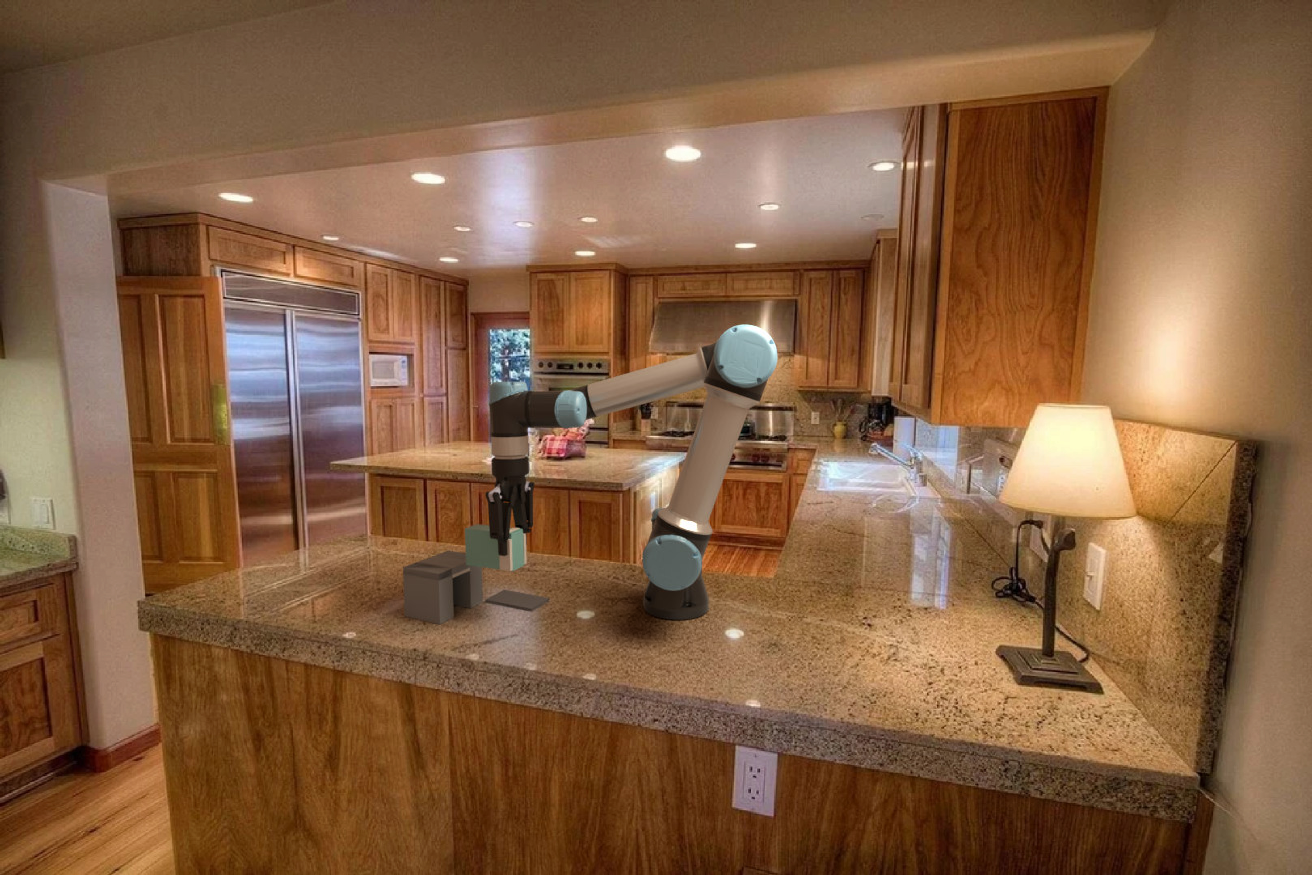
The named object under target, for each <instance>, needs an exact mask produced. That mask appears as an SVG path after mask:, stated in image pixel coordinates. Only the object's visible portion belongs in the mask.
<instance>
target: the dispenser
mask: <svg viewBox="0 0 1312 875" xmlns="http://www.w3.org/2000/svg"><path fill="white" fill-rule="evenodd" d="M402 574H403V575H402V576H403V577H402V578H403V580H402V581H403V605H404V606H403V607H404V608H403V609H404V613H403V614H404V617H405V618H411V619H416V620H420V621H424V622H427V623H432V624H436V625H441V624H443V623H446V622H447V621H450V620H451V619H453V618H454V606H459V607H463V608H464V607H465V608H467V609H472V608H474V607H476V606H478V605H480V604H482V603H484V601H483V600H484V598H483V597H484V596H483V590H484V589H483V567H477V566H470V565H466V552H459V551H453V550H446V551H443V552H441V553H438V554H435V555H432V556H429V557H427V558H425V559H421V560H419V561H416V562H414V563H411V564H409V565H405V566H403V567H402Z"/></svg>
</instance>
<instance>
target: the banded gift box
mask: <svg viewBox="0 0 1312 875" xmlns="http://www.w3.org/2000/svg"><path fill="white" fill-rule="evenodd" d="M503 534H504V533H503ZM509 539H512V562H513V570H512V571H511V572H514V571H516V570H519V569H521V568H522V567H524V566H525V564H524V549H523V529H520V528H515V526H514V527H510V532H509ZM464 542H465V543H464V544H465V545H464V546H465V553H466V565H470V566H477V567H482V568H485V569H491V570H492V569H493V570H500V561H499V554H498V540H497V539H491V538H490V530H489V524H480V523H479V524H477V523H476V524H474V525H471V526H468V527H464ZM500 571H501V570H500ZM504 571H505V572H507V571H506V570H504Z"/></svg>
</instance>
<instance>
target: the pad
mask: <svg viewBox="0 0 1312 875" xmlns="http://www.w3.org/2000/svg"><path fill="white" fill-rule="evenodd" d="M484 601H485V603H489V604H494V605H499V606H503V607H508V608H513V609H518V610H523V611H528V612H533V611H535V610H536V609H538V608H540V607H541V606H543V605H545V604H546V603H548V602H549V601H550V597H545V596H540V595H534V594H529V593H525V592H520V591H519V592H518V591H515V590H508V589H503V590H501V591H499V592H496V593H495V594H493V595H491V596H489V597H488V598H485V599H484Z"/></svg>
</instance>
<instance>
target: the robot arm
mask: <svg viewBox="0 0 1312 875" xmlns="http://www.w3.org/2000/svg"><path fill="white" fill-rule="evenodd" d="M777 364H778V350H777V346H776V344H775V341H774V339H773V338H772V336H771V335H770V334H769V333H768V332H767V331H766V330H764V329H763V328H760V327H759V326H756V325H751V324H738V325H734V326H732V327H730V328H728V329H727V330H725V331H724V332H723V333H722V334H721V335H720V336H719V338H718V339H717V341H715V342H713V343H711V344H708V345H704V346H700V347H699V348H698V350H697V351H696V353H694V354H690V355H686V356H683V357H680V358H676V359H672V360H670V361H669V360H668V361H665V362H662V363H658V364H655V365H651V366H648V367H646V368H641V369H637V370H635V371H634V370H633V371H630V372H628V373H624V374H621V375H617V376H614V377H610V378H606V379H603V380H600V381H596V382H593V383H589V384H586V385H582V386H579V387H575V388H571V389H568V390H567V389H566V390H545V391H544V390H543V391H534V390H533V391H532V390H528V384H527V383H526V382H524V381H495V382H492V383H491V384H490V385H489V401H488V406H489V422H490V448H491V449H490V450H491V451H490V452H491V456H493V457H492V459H490V460H491V475H492V476H493V477H495V484H494V488H493V489H492V490H491V491H490V490H489V491H488V490H487V491H486V492H485V493H484V495H485V499H486V501H487V509H488V510H487V511H488V525H489V530H490V538H491V539H497V540H498V554H499V561H500V571H505V570H506V571H505V572H513V571H512V570H513V562H512V539H509V532H510V528H511V522H512V521H511V519H512V516H513V522H514V527H515V528H520V529H523V549H524V565H526V564H528V562H527V561H528V560H527V545H528V544H527V543H528V542H527V538H528V536H527V533H528V534H531V532H532V529H531V528H533V527H534V488H535V482H533V481H527V478H526V476H528V474H530V463H529V462H530V460H529V457H528V456H527V455H528V454H529V453H530V451H529V450H530V449H529V448H530V447H529V428H530V429H535V428H544V429H545V428H546V429H551V428H552V429H567V430H568V429H575V428H578V429H579V428H582V427H583V426H584V425H585V423H586V421H587V420H591V419H595V418H597V417H601V416H604V415H605V416H606V415H607V414H612V413H616V412H620V411H623V410H626V409H629V408H634V407H638V406H641V405H645V404H648V403H651V402H655V401H659V400H662V399H666V398H671V397H673V396H678V395H680V394H681V395H682V394H684V393H688V392H691V391H694V390H699V389H703V388H704V389H705V391H706V393H707V395H706V398H705V401H704V403H703V404H704V405H703V406H702V409H701V412H700V415H699V418H698V421H697V424H696V427H695V429H694V433H693V435H692V438H691V440H690V443H689V447H688V449H687V452H686V456H685V457H684V461H683V462H682V463H683V464H682V466H681V469H680V472H679V475H678V478H677V480H676V483H675V486H674V488H673V489H674V490H673V492H672V495H671V497H670V500H669V503H668V505H667V506H666V507H659V508H658V507H657V508H654V510H653V511H652V512H651V513H652V514H651V519H650V522H651V532H650V535H649V537H648V539H647V542H646V545H645V546H644V548H643V552H642V555H641V557H642V558H641V561H642V568H643V572H644V573H645V575H646V577H647V579H648V583H647V585H646V588H645V591H644V594H643V601H642V602H643V603H642V605H643V606H642V607H643V609H644V610H645V612H647V613H648V614H649V615H651V616H653V617H657V618H660V619H665V620H673V621H674V620H675V621H677V620H679V621H680V620H681V621H684V620H691V619H696V618H699V617H701V616H703V615H705V614H707V613H708V611H709V610H710V598H709V594H708V591H707V588H706V584H705V581H704V578H703V560H704V557H705V554H706V551H707V548H708V545H709V542H710V539H711V536H712V534H713V529H712V526H711V524H710V522H709V520H710V518H711V514H712V511H713V509H714V507H715V506H714V505H715V504H716V500H717V497H718V496H719V493H720V489H721V487H722V485H723V484H722V483H723V481H724V478H725V475H726V474H727V471H728V468H729V465H730V462H731V460H732V457H733V454H734V452H735V449H736V445H737V444H738V441H739V438H740V434H741V432H742V429H743V427H744V425H745V424H744V423H745V420H746V418H747V415H748V412H749V410H750V409H751V408H752V407H755V406H757V405H758V404H760V402H761V399H762V397H763V394H764V391H765V389H766V386H767V383H768V381H769V378H771V376H772V374H774V371H775V369H776V367H777ZM503 533H504V534H503Z"/></svg>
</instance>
